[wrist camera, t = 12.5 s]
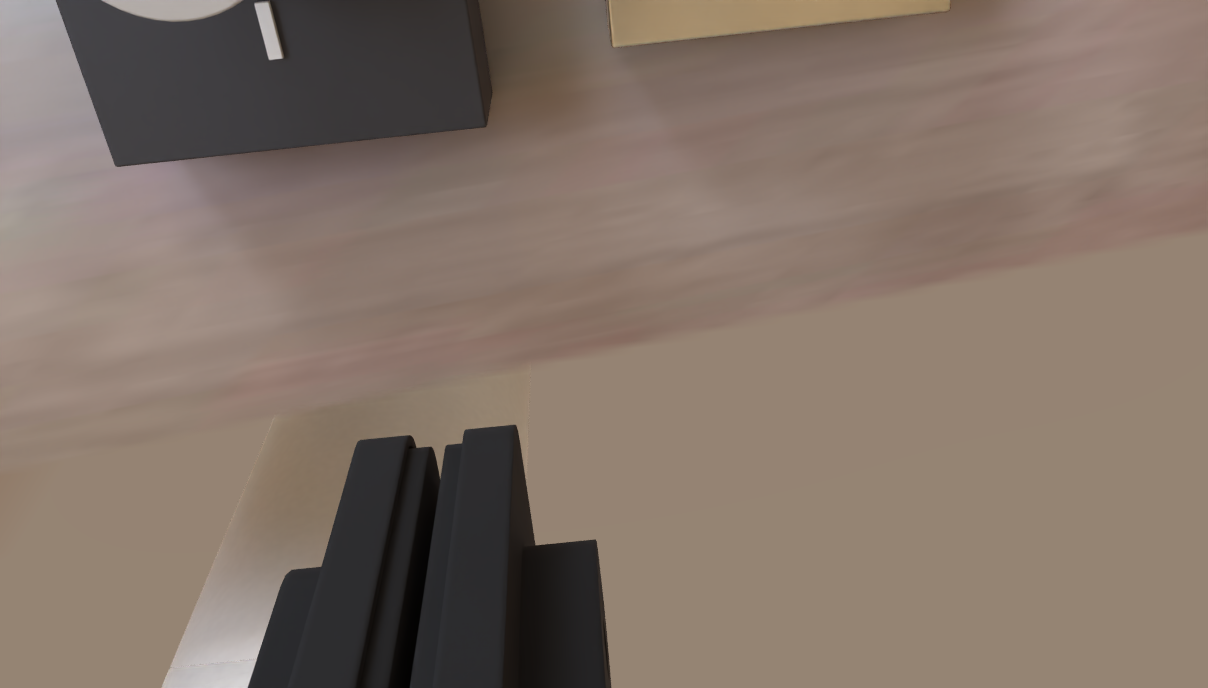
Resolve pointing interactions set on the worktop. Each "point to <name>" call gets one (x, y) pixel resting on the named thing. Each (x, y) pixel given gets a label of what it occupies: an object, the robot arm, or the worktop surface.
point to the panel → (279, 75)
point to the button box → (743, 16)
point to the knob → (173, 8)
